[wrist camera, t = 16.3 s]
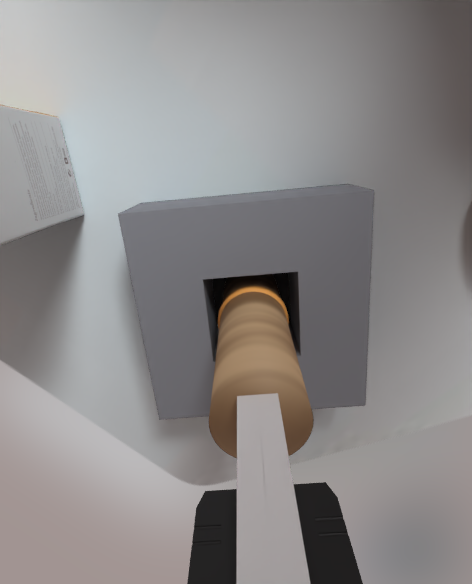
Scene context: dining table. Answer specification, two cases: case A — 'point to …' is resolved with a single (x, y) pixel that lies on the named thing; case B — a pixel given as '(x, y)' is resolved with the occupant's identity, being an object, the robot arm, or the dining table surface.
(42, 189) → the small box
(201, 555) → the robot arm
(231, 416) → the oak peg
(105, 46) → the dining table surface
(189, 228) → the socket block
